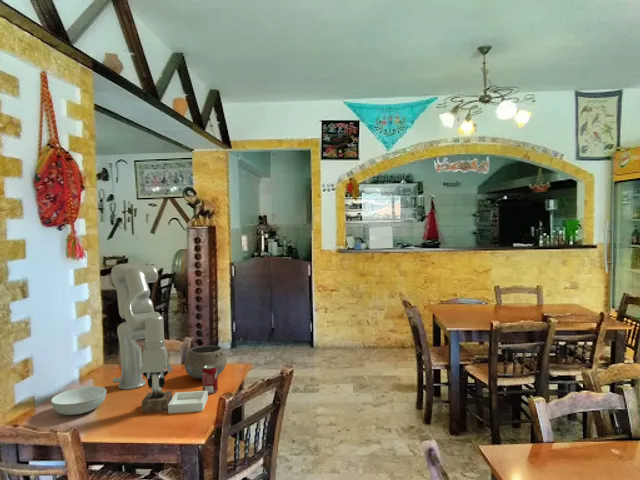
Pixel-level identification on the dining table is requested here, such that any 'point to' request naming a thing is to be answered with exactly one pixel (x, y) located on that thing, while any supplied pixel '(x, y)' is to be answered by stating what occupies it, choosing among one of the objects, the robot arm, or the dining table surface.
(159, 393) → the metal pin
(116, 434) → the dining table surface
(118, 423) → the dining table surface
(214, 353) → the clay pot
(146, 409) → the walnut block
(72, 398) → the serving bowl
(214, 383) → the soda can
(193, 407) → the grey tray
